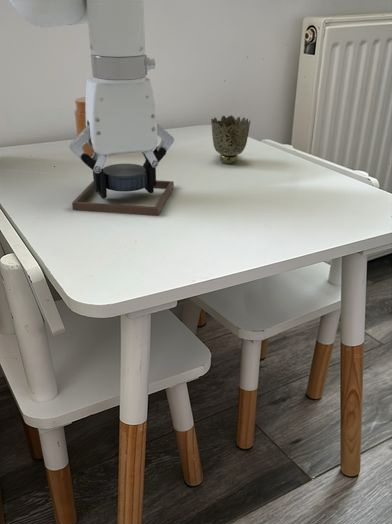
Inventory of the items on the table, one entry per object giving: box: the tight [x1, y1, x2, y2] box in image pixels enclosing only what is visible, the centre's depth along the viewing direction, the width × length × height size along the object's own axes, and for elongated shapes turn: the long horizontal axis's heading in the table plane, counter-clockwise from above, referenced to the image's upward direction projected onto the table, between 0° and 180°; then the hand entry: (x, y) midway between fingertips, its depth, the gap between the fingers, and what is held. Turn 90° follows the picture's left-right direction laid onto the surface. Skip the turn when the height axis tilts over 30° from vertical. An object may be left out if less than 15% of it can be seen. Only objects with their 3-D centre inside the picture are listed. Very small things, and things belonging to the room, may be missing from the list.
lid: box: [102, 163, 148, 193], centre depth 87 cm, size 7×7×2 cm
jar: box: [74, 96, 94, 157], centre depth 112 cm, size 6×6×10 cm
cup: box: [210, 114, 251, 165], centre depth 108 cm, size 8×7×8 cm
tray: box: [71, 179, 175, 217], centre depth 89 cm, size 13×13×2 cm
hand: (125, 192), depth 88 cm, fingers closed on lid, 7 cm apart
